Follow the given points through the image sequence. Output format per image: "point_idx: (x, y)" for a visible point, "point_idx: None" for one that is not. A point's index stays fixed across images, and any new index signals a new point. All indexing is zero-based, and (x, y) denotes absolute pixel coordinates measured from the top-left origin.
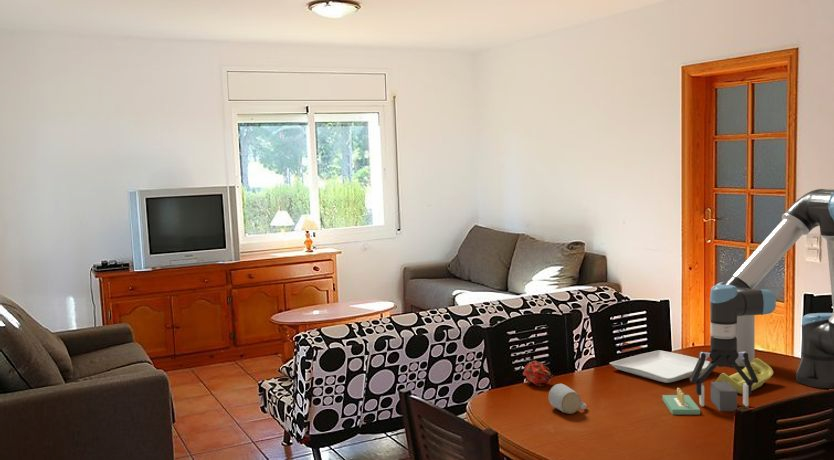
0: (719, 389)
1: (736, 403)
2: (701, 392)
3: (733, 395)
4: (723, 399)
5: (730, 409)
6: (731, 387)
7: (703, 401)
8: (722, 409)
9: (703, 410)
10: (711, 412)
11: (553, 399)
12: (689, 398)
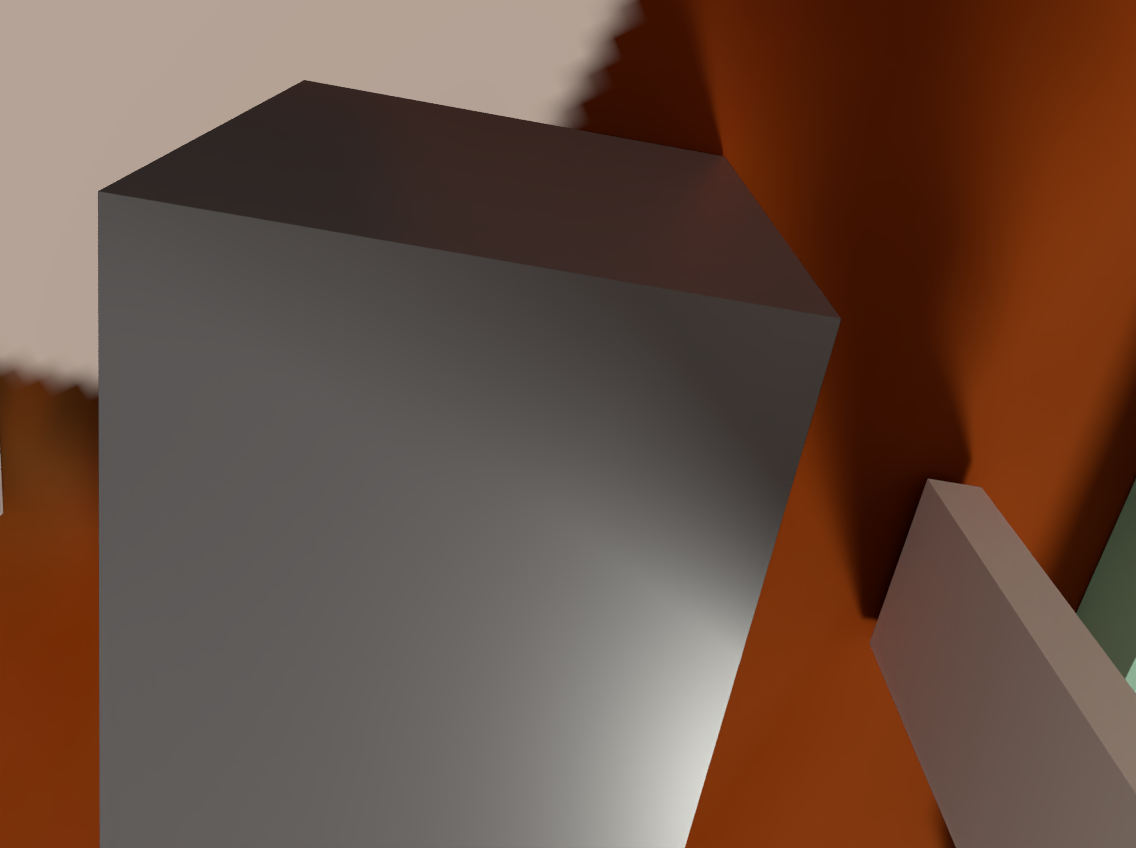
0: (709, 560)
1: (273, 108)
2: (1124, 713)
3: (305, 179)
4: (660, 215)
5: (466, 116)
6: (160, 691)
7: (986, 538)
8: (664, 155)
9: (1068, 275)
10: (975, 99)
11: None
12: None
